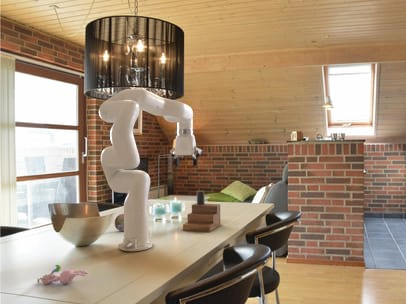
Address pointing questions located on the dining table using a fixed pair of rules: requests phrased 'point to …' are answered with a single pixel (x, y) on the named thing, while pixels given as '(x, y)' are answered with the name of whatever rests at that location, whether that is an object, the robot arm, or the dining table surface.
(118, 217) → the tin
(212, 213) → the step rack
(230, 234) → the dining table surface
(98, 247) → the dining table surface
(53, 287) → the dining table surface
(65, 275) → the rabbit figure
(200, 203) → the cylinder
